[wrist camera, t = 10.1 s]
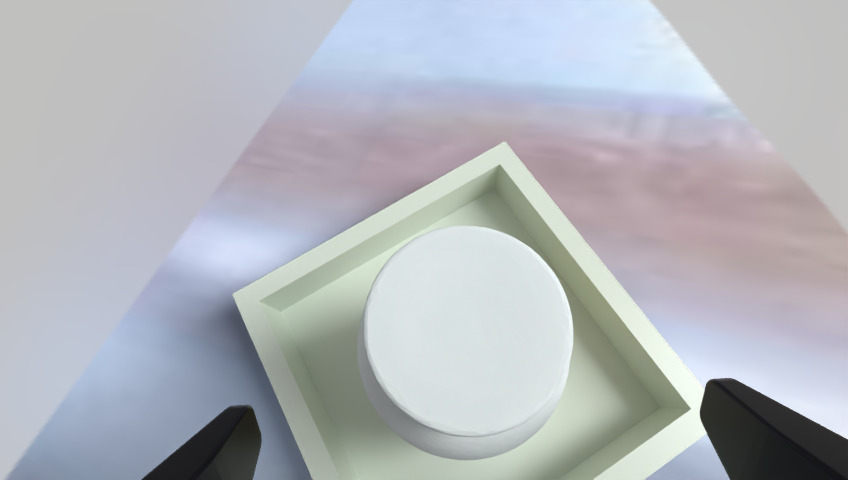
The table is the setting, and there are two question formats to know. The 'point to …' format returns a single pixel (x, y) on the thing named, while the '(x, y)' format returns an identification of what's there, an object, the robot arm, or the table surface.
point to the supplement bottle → (465, 342)
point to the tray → (589, 365)
